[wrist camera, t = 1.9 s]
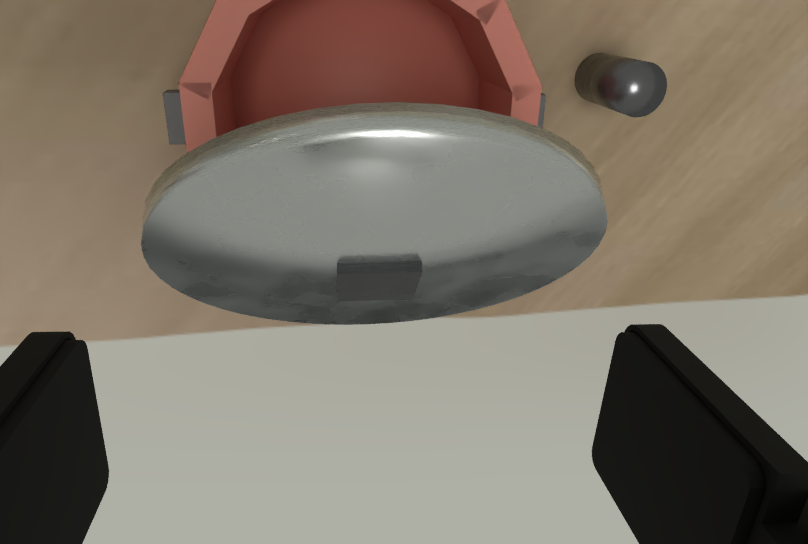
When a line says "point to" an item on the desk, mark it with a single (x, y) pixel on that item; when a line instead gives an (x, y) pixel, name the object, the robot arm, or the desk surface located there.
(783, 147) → the desk surface
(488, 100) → the pot
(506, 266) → the lid
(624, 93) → the cylinder
